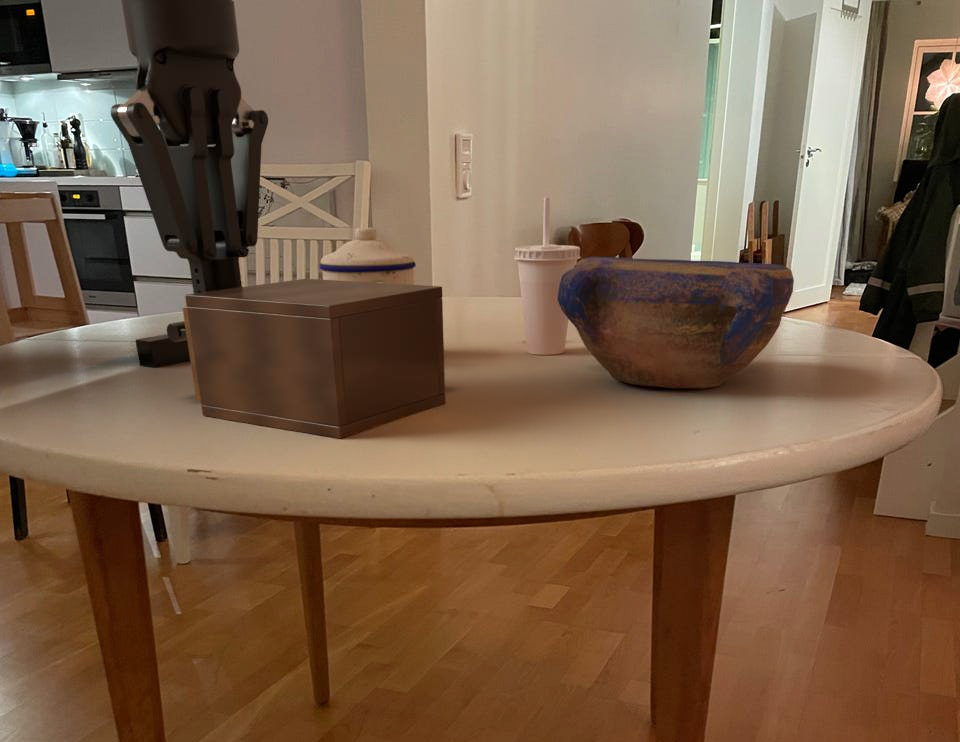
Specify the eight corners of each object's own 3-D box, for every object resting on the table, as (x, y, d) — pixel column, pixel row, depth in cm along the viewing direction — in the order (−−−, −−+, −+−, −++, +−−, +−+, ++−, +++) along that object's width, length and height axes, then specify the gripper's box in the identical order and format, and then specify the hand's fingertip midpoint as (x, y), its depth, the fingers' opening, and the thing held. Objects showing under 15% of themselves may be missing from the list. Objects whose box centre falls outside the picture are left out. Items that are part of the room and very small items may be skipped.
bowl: (794, 368, 83) (811, 248, 78) (760, 410, 68) (778, 266, 64) (604, 355, 90) (609, 244, 85) (536, 391, 75) (538, 260, 71)
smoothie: (505, 355, 91) (505, 198, 84) (524, 345, 96) (525, 196, 90) (568, 358, 89) (573, 197, 82) (584, 347, 94) (589, 196, 88)
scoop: (160, 368, 87) (155, 339, 86) (134, 364, 89) (128, 336, 88) (222, 355, 93) (219, 328, 92) (197, 352, 95) (193, 326, 93)
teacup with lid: (320, 352, 94) (309, 227, 88) (407, 346, 96) (401, 224, 91) (341, 373, 83) (330, 233, 78) (437, 366, 86) (433, 230, 81)
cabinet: (202, 415, 69) (184, 294, 65) (315, 385, 79) (305, 278, 75) (340, 438, 62) (329, 305, 59) (445, 403, 72) (442, 286, 68)
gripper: (134, -31, 56) (195, 363, 67) (283, -2, 66) (315, 338, 77) (60, -16, 60) (128, 355, 71) (211, 9, 70) (251, 332, 80)
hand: (225, 346), depth 74 cm, fingers closed
